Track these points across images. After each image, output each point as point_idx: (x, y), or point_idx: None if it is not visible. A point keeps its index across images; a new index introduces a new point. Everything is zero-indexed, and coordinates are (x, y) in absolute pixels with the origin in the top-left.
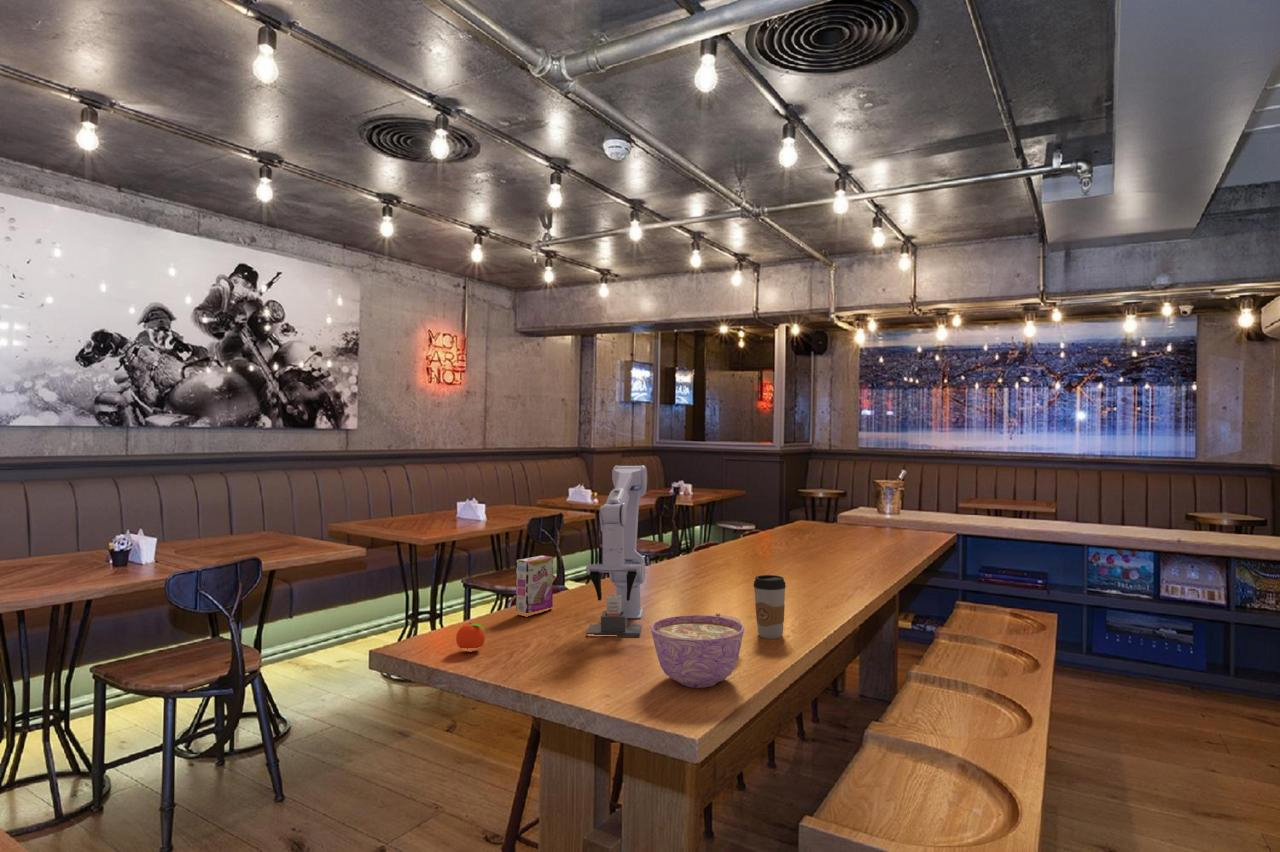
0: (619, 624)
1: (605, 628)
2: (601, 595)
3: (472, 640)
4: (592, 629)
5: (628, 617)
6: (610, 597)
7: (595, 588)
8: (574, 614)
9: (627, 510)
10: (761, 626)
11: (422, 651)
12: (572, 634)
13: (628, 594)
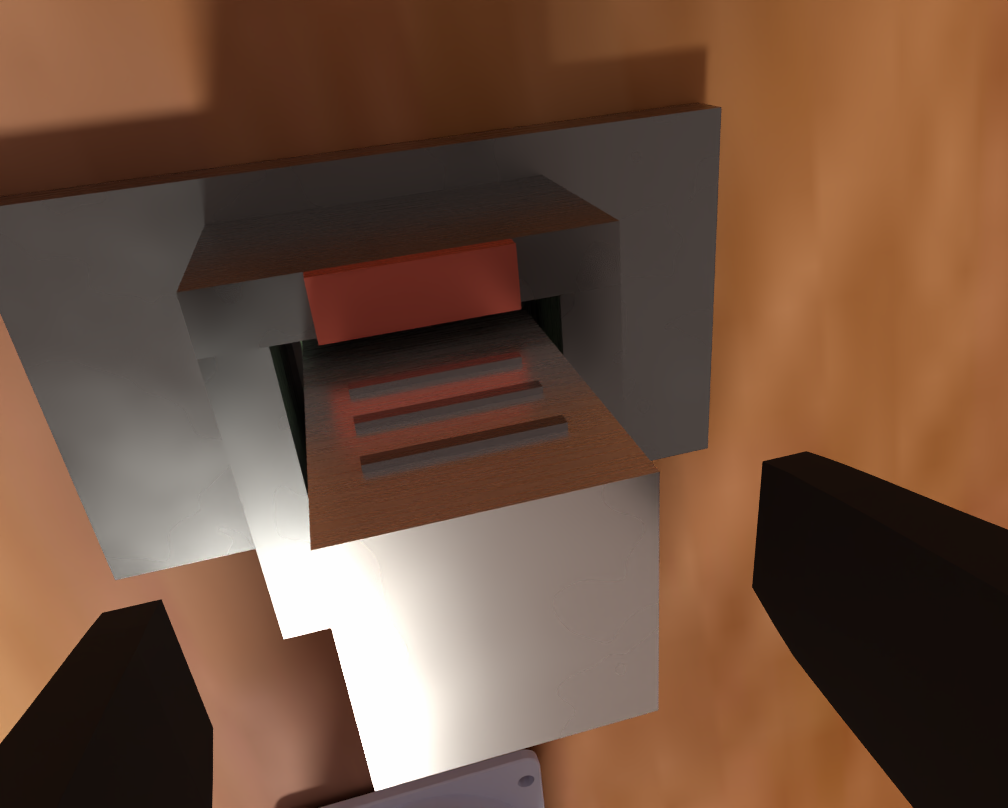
0: (288, 239)
1: (494, 190)
2: (790, 633)
3: None
4: (664, 266)
5: (392, 792)
6: (577, 562)
7: None
8: (854, 742)
9: None
10: None
11: None
12: (852, 171)
13: (50, 717)
